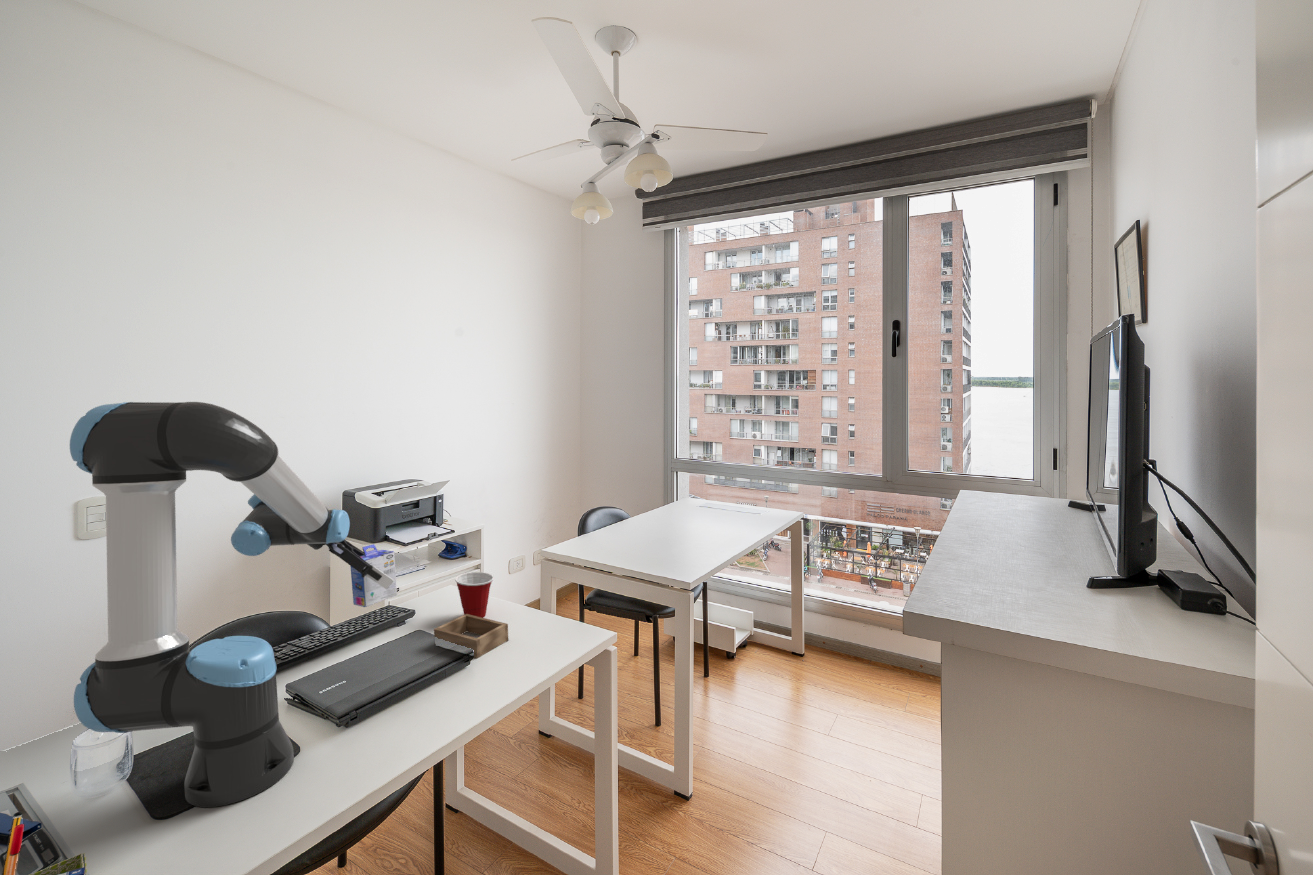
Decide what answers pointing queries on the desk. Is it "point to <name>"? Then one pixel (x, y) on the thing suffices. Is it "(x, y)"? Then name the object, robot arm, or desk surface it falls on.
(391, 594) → the ink cartridge box
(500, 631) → the open wooden box
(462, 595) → the plastic cup
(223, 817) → the desk surface
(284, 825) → the desk surface
